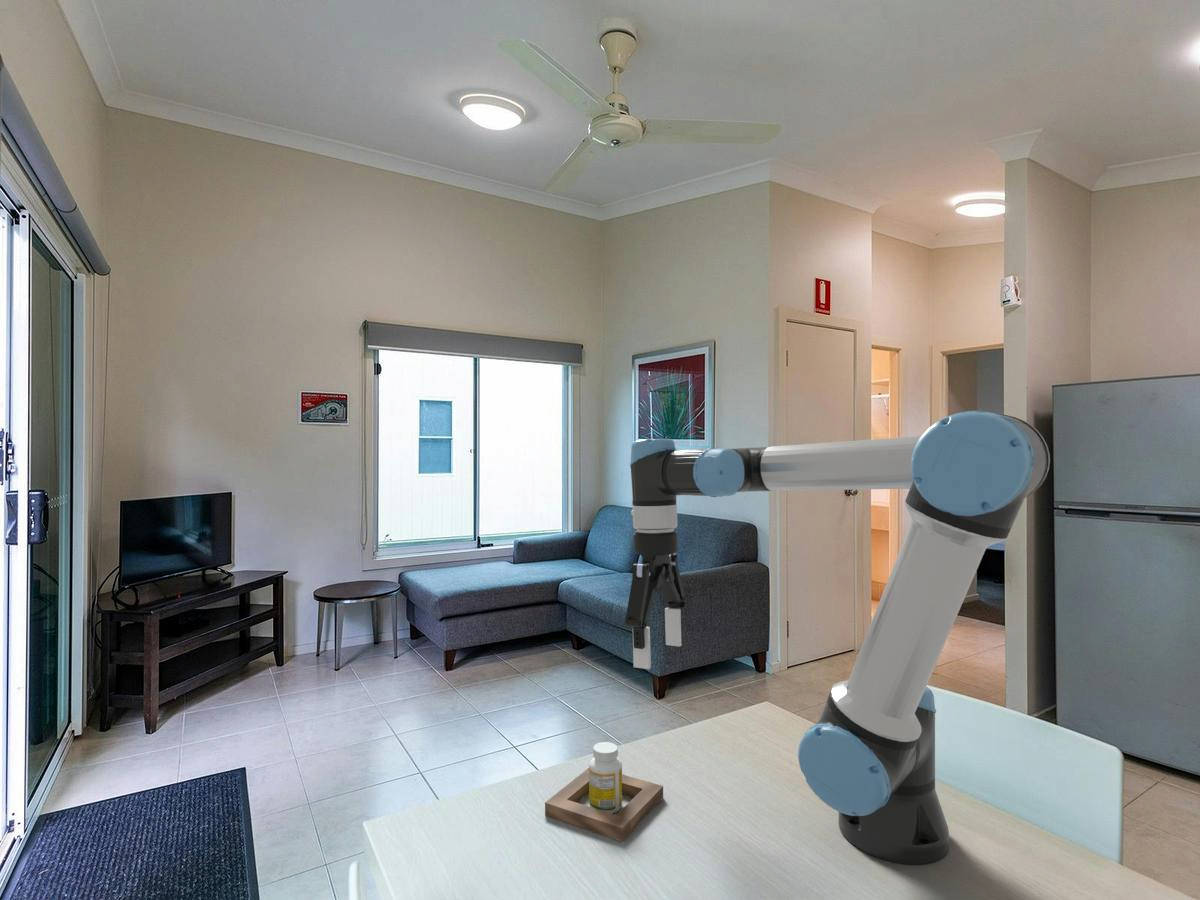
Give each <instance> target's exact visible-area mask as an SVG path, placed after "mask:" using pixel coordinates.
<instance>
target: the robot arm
mask: <svg viewBox="0 0 1200 900" xmlns="http://www.w3.org/2000/svg"><path fill="white" fill-rule="evenodd" d="M630 449H631V451H630V463H629V468H630V476H631V477H630V479H631V489H632V490H631V491H632V492H631V493H632V495H631V496H632V503H631V504H632V510H631V511H630V515H631V516H632V527H633V528H634V529H635V531H634V532H633V534H632V540H633V541H632V544H633V545H632V546H633V553H634V554H636V555H638V556H641V563H633V565H632V579H631V585H630V589H629V590H630V591H629V597H628V602H627V609H626V615H625V620H624V624H625V626H626V627H628V628H632V655H633V657H632V659H633V661H632V662H633V668H638V669H643V670H644V669H645V670H650V669H652V666H651V665H652V660H651V659H652V658H651V657H652V655H651V654H652V653H651V627H650V626H648V623H649V619H650V615H651V611H652V608H653V607H652V606H653V605H654V600H655V597H656V593H657V592H659V591H660V592H661V595H662V597H663V599H664V601H665V604H666V607H665V608H664V623H665V624H664V627H665V628H664V629H665V630H664V631H665V645H666V646H669V647H670V646H673V647H682V645H683V644H682V620H681V619H682V617H681V616H682V613H681V611H682V610H681V608H682V609H685V608H686V607H687V606H686V605H687V603H686V595H685V590H684V587H683V582H682V578H681V573H680V569H679V564H678V562H679V561H678V554H677V552H678V551H679V541H678V539H679V538H678V537H679V536H678V534H679V533H678V532H677V531H676V530H675V529H676V528H677V527H678V507H677V506H678V505H677V496H692V497H693V496H696V497H697V496H698V497H701V496H702V497H711V498H717V497H729V496H733V495H736V493H744V492H747V493H748V492H771V491H773V492H776V491H835V490H836V491H850V490H852V491H853V490H858V491H859V490H861V491H862V490H909V491H908V493H907V496H906V498H905V501H904V506H905V508H906V510H907V512H908V514H909V516H910V518H911V522H910V524H909V527H908V528H907V531H906V534H905V536H904V538H903V542H902V545H901V547H900V549H899V552H898V554H897V557H896V559H895V561H894V565H893V566H892V569H891V572H890V573H889V576H888V580H887V581H886V585H885V587H884V590H883V592H882V594H881V596H880V600H879V602H878V604H877V607H876V608H875V613H874V614H873V617H872V620H871V622H870V624H869V628H868V630H867V632H866V634H865V637H864V640H863V642H862V644H861V647H860V650H859V652H858V655H857V657H856V659H855V662H854V664H853V667H852V670H851V672H850V674H849V678H848V679H845V680H842V681H838V682H836V683H834V684H833V685H832V688H831V690H830V691H829V694H828V696H827V698H826V702H825V704H824V706H823V708H822V712H821V714H820V716H819V719H818V720H817V722H816V724H813V725H812V726H811V727H809V728H808V729H807V730H806V731H805V732H804V735H802V738H801V740H800V742H799V744H798V750H797V751H798V753H797V754H798V755H797V756H798V757H797V758H798V764H799V769H800V772H801V773H802V774H803V775H804V778H805V781H806V783H807V785H808V787H809V788H810V790H811V791H812V792H813V793H814V794H815V796H816V797H818V799H820V800H821V801H822V802H823V803H824V804H825V805H827V806H828V807H829V808H831V809H833V810H835V811H836V812H838V828H839V831H840V832H841V834H842V836H843V837H845V839H847V840H848V842H850V843H851V844H852V845H853V846H855V847H856V848H858V849H860V850H861V851H863V852H865V853H867V854H870V855H871V856H874V857H876V858H879V859H882V860H885V861H889V862H893V863H894V862H895V863H898V864H899V863H900V864H905V865H906V864H908V865H922V864H923V865H925V864H930V863H934V862H937V861H939V860H940V859H943V858H944V857H945V856H946V855H947V854H948V852H949V848H950V832H949V830H950V829H949V826H948V823H947V820H946V817H945V814H944V811H943V808H942V806H941V802H940V799H939V796H938V794H937V790H936V713H937V709H936V706H935V696H934V693H933V691H932V690H931V688H929V687H928V683H929V681H930V679H931V677H932V675H933V671H934V670H935V667H936V665H937V662H938V660H939V659H940V656H941V653H942V651H943V649H944V647H945V645H946V642H947V640H948V638H949V635H950V633H951V631H952V628H953V626H954V624H955V621H956V619H957V616H958V614H959V612H960V610H961V608H962V605H963V602H964V601H965V599H966V596H967V594H968V591H969V589H970V587H971V584H972V581H973V580H974V578H975V576H976V573H977V570H978V569H979V566H980V564H981V561H982V559H983V556H984V555H985V552H986V550H987V549H988V547H991V546H994V545H995V544H1000V543H1002V542H1005V541H1006V540H1007V539H1008V536H1009V534H1010V532H1011V530H1012V528H1013V525H1014V523H1015V521H1016V518H1017V516H1018V514H1019V512H1020V510H1021V507H1022V505H1023V503H1024V500H1025V499H1026V498H1027V497H1029V496H1031V495H1032V494H1034V493H1035V492H1036V491H1037V490H1038V489H1039V488H1040V487H1041V486H1042V484H1043V483H1044V481H1045V480H1046V478H1047V476H1048V472H1049V470H1050V463H1051V458H1050V457H1051V456H1050V454H1051V453H1050V451H1049V446H1048V445H1047V442H1046V440H1045V439H1044V437H1043V436H1042V434H1041V433H1040V432H1039V430H1037V428H1035V427H1034V426H1033V425H1031V424H1030V423H1028V422H1027V421H1026V420H1023V419H1020V418H1019V417H1015V416H1011V415H1007V414H998V413H996V412H989V411H984V410H967V411H961V412H957V413H954V414H952V415H948V416H946V417H944V418H941V419H940V420H938V421H936V422H934V423H933V424H931V425H930V426H929V427H928V428H927V429H926V430H925V431H924V432H923V433H922V434H921V435H919V436H918V435H917V436H907V437H905V436H903V437H892V438H891V437H889V438H888V437H887V438H877V439H876V438H873V439H859V440H858V439H857V440H846V441H844V440H843V441H832V442H819V443H816V442H815V443H802V444H788V445H787V444H786V445H773V446H772V445H771V446H760V447H743V448H742V447H741V448H738V447H737V448H727V447H726V448H725V447H724V448H723V447H710V448H709V447H708V448H695V449H693V448H692V449H691V448H690V449H676V443H675V441H674V439H672V438H650V439H649V438H644V439H637V440H634V441H633V443H632V444H631V447H630Z"/></svg>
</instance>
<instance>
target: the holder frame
mask: <svg viewBox="0 0 1200 900" xmlns="http://www.w3.org/2000/svg"><path fill="white" fill-rule="evenodd" d="M588 793H589V767H587V768H586V769H585V770H584V771H583V772H581V773H580V774H579V775H578V776H575V778H574V779H573V780H571V781H570V782H569V783H567V784H566V785H565V786H564V787H563V788H561V789H560V790H559V791H558V792H557V793H555V794H553V796H551V797H550V798H549V799H548V800H547V801H545V802H544V816H547V817H549V818H552V819H555V820H557V821H561V822H564V823H567V824H569V825H573V826H576V827H579V828H582V829H584V830H587V831H590V832H593V833H596V834H600V835H602V836H605V837H608V838H610V839H614V840H616V841H620V842H624V841H625V840H626V839H627V838H628V837H629V835H630V834H631V833H632V832H633V831H634V830H635V829H636V828H637V827H638V826H639V825H640V823H642V821H643V820H645V818H647V816H648V815H650V813H651V812H652V811H653V810H654V808H656V807H657V806H658V804H659V803H660V802H661V801H662V800H663V799H664V785H661V784H658V783H654V782H651V781H648V780H647V781H646V780H644V779H639V778H637V777H633V776H629V775H625V774H623V773H622V794H623V795H622V796H625V797H628V796H629V798H631V797H632V799H631V800H629V801H628V803H627V804H625V806H624V807H622V809H620V810H619V811H618V813H617V814H615V813H613V814H611V813H607V812H604V811H601V810H598V809H595V808H592V807H590V805H589V806H588V805H585V804H582V803H579V802H581V799H582V798H583V797H584V798H585V797H586V796H587V795H588ZM584 798H583V799H584ZM583 799H582V800H583Z"/></svg>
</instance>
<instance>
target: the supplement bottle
mask: <svg viewBox="0 0 1200 900" xmlns="http://www.w3.org/2000/svg"><path fill="white" fill-rule="evenodd" d="M592 747H593V748H592V751H593V752H592V755H593V757H592V759H590V761H589V764H588V768H589V795H588V796H589V807H592V808H595V809H598V810H601V811H604V812H607V813H611V814H615V813H617V812H620V811H621V808H622V805H623V795H622V774H623V764H622V763H623V762H622V761H621V759H620V758H619V757H618V756H619V747H618V745H617V744H615V743H613V742H609V741H603V742H598V743H595V744H594V746H592Z"/></svg>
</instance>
